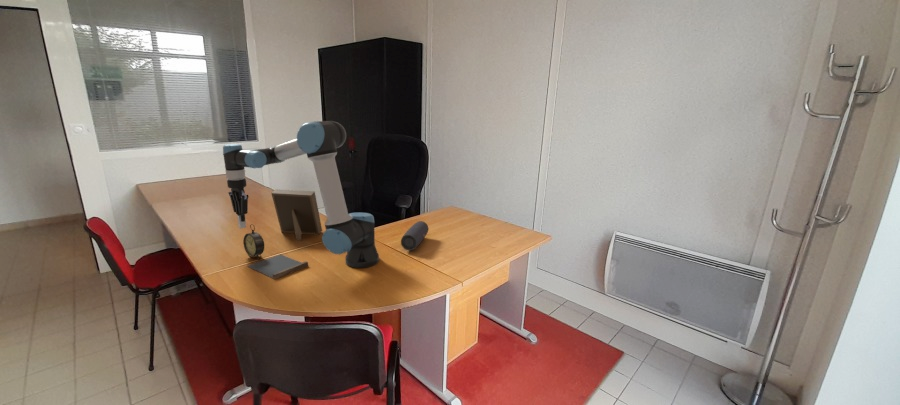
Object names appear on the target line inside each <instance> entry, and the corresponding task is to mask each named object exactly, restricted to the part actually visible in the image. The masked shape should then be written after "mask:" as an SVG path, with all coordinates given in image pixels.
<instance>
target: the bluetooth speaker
mask: <svg viewBox="0 0 900 405" xmlns="http://www.w3.org/2000/svg"><path fill="white" fill-rule="evenodd" d="M428 232H429V225H428V224H427V223H426V222H425V221H423V220H422V221H421V220H419V221H416V222H415V223H413V225H412V226H410V228H408V230H406V232H405V233H404V235H403V236H402V237H401V240H400V245H401V247H402V248H403V249H404V250H406V251H413V250H415V249H416V248H418V246H419V245H420V244H421V243H422V242H423V240H424V239H426V238H425V237H427V235H428Z"/></svg>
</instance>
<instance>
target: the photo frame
mask: <svg viewBox="0 0 900 405" xmlns="http://www.w3.org/2000/svg"><path fill="white" fill-rule="evenodd" d="M271 197H272V202H273V205H274V208H275V209H274V210H275V212H276V216H277V221H278V224H279V229H280V232H281V233H288V234H295V239H296V240H298V241H302V237H303V236H302V234H304V235H315V236H316V235H320V234H321V233H322V231H323V227H322V223H321V218H320V212H319V208H318V202H317V196H316V191H313V190H312V191H311V190H293V189H291V190H290V189H278V188H277V189H276V188H275V189H274V190H273V191H272V192H271Z"/></svg>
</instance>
